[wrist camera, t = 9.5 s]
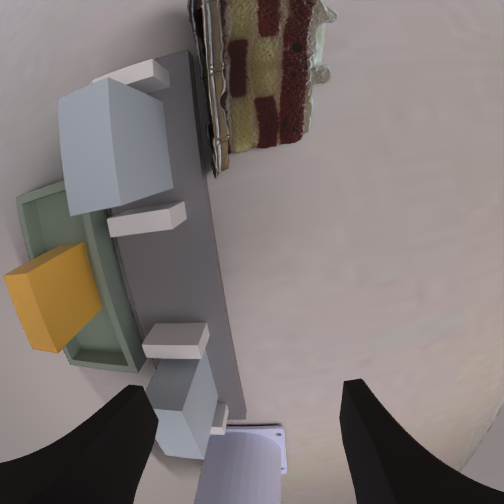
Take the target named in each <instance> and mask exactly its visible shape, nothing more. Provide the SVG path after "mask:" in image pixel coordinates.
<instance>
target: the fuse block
mask: <svg viewBox="0 0 504 504" xmlns="http://www.w3.org/2000/svg"><path fill="white" fill-rule="evenodd" d="M107 77H109V78H111V79H114V80H116V81H118V82H121V83H123V84H125V85H128V86H130V87H132V88H134V89H136V90H139V91H141V92H143V93H145V94H147V95H150V96H152V97H154V98H156V99H158V100H160V101H162V102H163V106H164V116H165V126H166V135H167V143H168V151H169V159H170V167H171V174H172V181H173V189H169V190H166V191H163V192H160V193H157V194H154V195H151V196H148V197H145V198H142V199H139V200H136V201H133V202H130V203H128V204H125V205H122V206H117V207H112V208H111V212H112V217H110V218H108V219H107V223H108V228H109V232H110V237H117V241H118V245H119V250H120V254H121V258H122V262H123V266H124V270H125V274H126V278H127V281H128V285H129V289H130V292H131V296H132V299H133V303H134V306H135V309H136V313H137V316H138V319H139V322H140V325H141V328H142V331H143V334H144V337H145V340H144V342H143V343H142V347H143V350H144V353H145V355H146V358H152V360H153V362H154V365H155V368H156V369H157V367H158V365H159V363H160V361H161V359H162V358H166V359H202V357H203V354H204V351H205V349H206V353H207V356H208V360H209V364H210V368H211V372H212V376H213V379H214V383H215V387H216V390H217V394H218V400H217V405H216V409H215V413H214V418H213V422H212V427H211V431H210V434H214V435H225V429H226V424H227V419H246V406H245V401H244V396H243V392H242V387H241V382H240V377H239V372H238V366H237V361H236V356H235V351H234V346H233V340H232V335H231V329H230V324H229V318H228V313H227V307H226V301H225V296H224V290H223V284H222V278H221V272H220V266H219V259H218V253H217V247H216V240H215V234H214V227H213V221H212V214H211V207H210V200H209V193H208V186H207V178H206V171H205V163H204V155H203V147H202V139H201V131H200V122H199V114H198V105H197V95H196V86H195V76H194V66H193V56H192V55H191V53H190V52H189V51H184V52H180V53H176V54H172V55H168V56H164V57H161V58H157V59H154V60H153V59H150V60H146V61H143V62H140V63H137V64H134V65H131V66H128V67H125V68H122V69H120V70H117V71H114V72H112V73H109V74H106V75H104V76H101V77H99V78H96V79H94V80H92V83H95V82H97V81H99V80H102V79H104V78H107Z"/></svg>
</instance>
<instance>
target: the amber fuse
mask: <svg viewBox="0 0 504 504" xmlns="http://www.w3.org/2000/svg"><path fill="white" fill-rule="evenodd" d="M4 278H5V281H6V284H7V288H8V291H9V293H10V296H11V299H12V302H13V304H14V307H15V309H16V312H17V314H18V317H19V320H20V322H21V324H22V327H23V329H24V331H25V333H26V336H27V338H28V340H29V342H30V344H31V346H32V348H33V349H36V350H41V351H46V352H53V353H59V352H60V351H61V350H62V349H63V348H64V347H65V346H66V344H67V343H68V342H69V341H70V340H71V339H72V338H73V337H74V336H75V335H76V334H77V333H78V332H79V331H80V330H81V329H82V328H83V327H84V326H85V325H86V324H87V323H88V322H89V321H90V320H91V319H92V318H93V317H94V316H95V315H96V314H97V313H98V312H99V311H100V310H101V309H102V308H103V306H102V303H101V300H100V296H99V293H98V290H97V287H96V284H95V280H94V277H93V273H92V270H91V266H90V262H89V259H88V255H87V251H86V247H85V243H84V242H79V243H72V244H66V245H60V246H58V247H56V248H54V249H52V250H50V251H48V252H46V253H44V254H42V255H40V256H38V257H36V258H34V259H33V260H31V261H29V262H27V263H25V264H23V265H22V266H20V267H18V268H16V269H15V270H13V271H11V272H9V273H7V274H6V275H4Z"/></svg>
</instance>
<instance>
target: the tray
mask: <svg viewBox="0 0 504 504" xmlns="http://www.w3.org/2000/svg"><path fill="white" fill-rule="evenodd" d="M16 200H17V206H18V211H19V216H20V221H21V226H22V231H23V235H24V239H25V244H26V248H27V251H28V255H29V259H30V261H31V260H33V259H34V258H36V257H38V256H40V255H42V254H44V253H46V252H48V251H50V250H52V249H54V248H56V247H58V246H60V245H66V244H72V243H79V242H84V243H85V247H86V251H87V255H88V259H89V262H90V266H91V270H92V273H93V277H94V280H95V284H96V287H97V290H98V293H99V296H100V300H101V303H102V306H103V308H102V309H101V310H100V311H99V312H98V313H97V314H96V315H95V316H94V317H93V318H92V319H91V320H90V321H89V322H88V323H87V324H86V325H85V326H84V327H83V328H82V329H81V330H80V331H79V332H78V333H77V334H76V335H75V336H74V337H73V338H72V339H71V340H70V341H69V342H68V343H67V344H66V346H65V347H64V348H63V350H64V353H65V355H66V357H67V359H68V361H69V363H70V365H76V366H82V367H89V368H97V369H104V370H113V371H122V372H133V373H139V371H140V369H141V368H142V366H143V364H144V362H145V361H146V359H147V358H146V355H145V353H144V350H143V347H142V340H141V338H140V335H139V332H138V329H137V326H136V323H135V320H134V317H133V313H132V310H131V307H130V304H129V300H128V297H127V294H126V290H125V287H124V283H123V279H122V276H121V272H120V268H119V264H118V260H117V256H116V252H115V248H114V243H113V239H112V237H110V232H109V228H108V223H107V219H108V215H107V209H102V210H97V211H92V212H88V213H83V214H78V215H74V216H70V212H69V207H68V201H67V195H66V189H65V182H64V180H63V181H60V182H57V183H54V184H51V185H49V186H46V187H43V188H40V189H37V190H34V191H32V192H29V193H26V194H24V195H21V196H19V197H16Z"/></svg>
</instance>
